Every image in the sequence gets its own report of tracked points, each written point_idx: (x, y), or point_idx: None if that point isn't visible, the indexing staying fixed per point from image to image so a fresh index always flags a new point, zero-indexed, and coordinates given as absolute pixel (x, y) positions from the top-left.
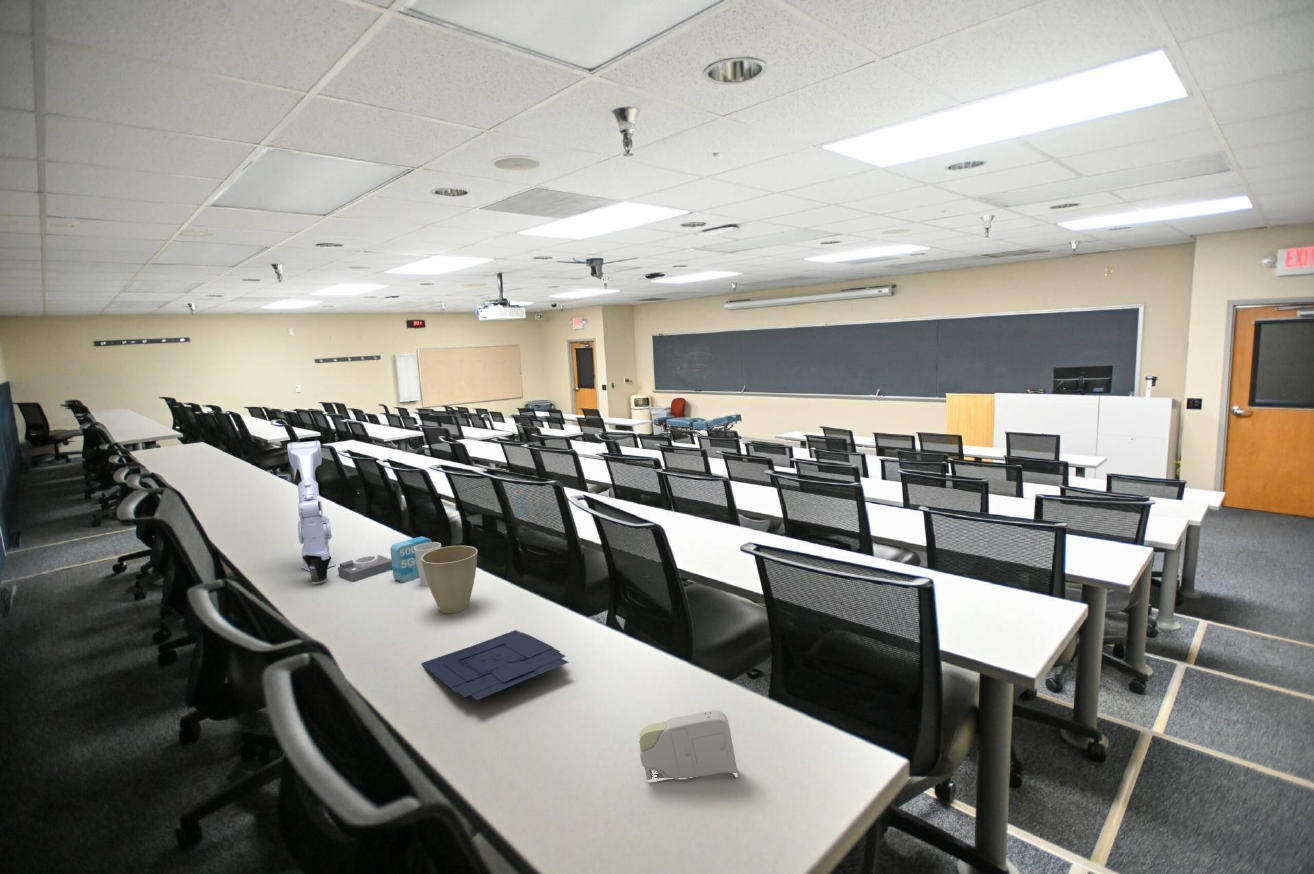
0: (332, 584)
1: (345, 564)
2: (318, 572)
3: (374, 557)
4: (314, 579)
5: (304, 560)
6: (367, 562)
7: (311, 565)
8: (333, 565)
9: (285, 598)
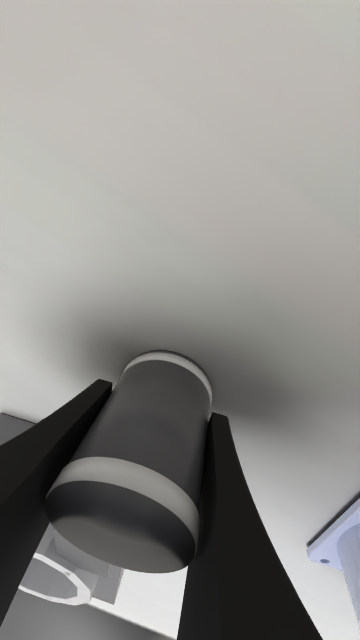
0: (52, 373)
1: (60, 535)
2: (50, 420)
3: (33, 587)
4: (137, 373)
5: (306, 623)
6: None
7: (136, 507)
8: (311, 550)
9: (50, 17)
